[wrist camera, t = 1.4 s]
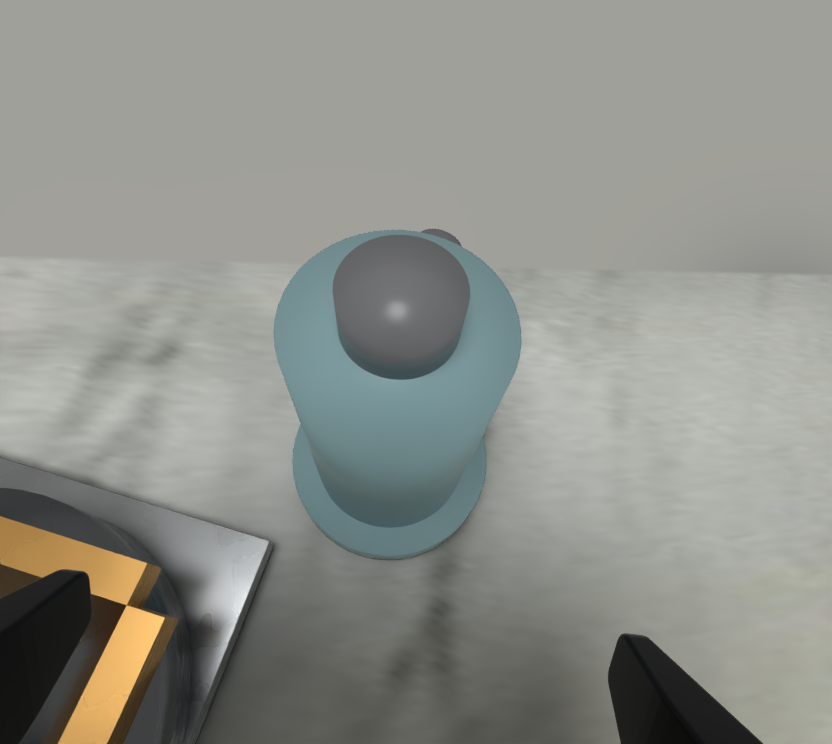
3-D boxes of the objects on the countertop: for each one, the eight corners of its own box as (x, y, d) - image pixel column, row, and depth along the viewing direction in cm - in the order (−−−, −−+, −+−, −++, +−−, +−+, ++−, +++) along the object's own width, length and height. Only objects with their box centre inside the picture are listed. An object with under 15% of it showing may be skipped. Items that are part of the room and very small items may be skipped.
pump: (456, 585, 21) (553, 520, 9) (268, 527, 21) (138, 397, 10) (499, 394, 25) (606, 182, 13) (340, 349, 25) (308, 108, 14)
